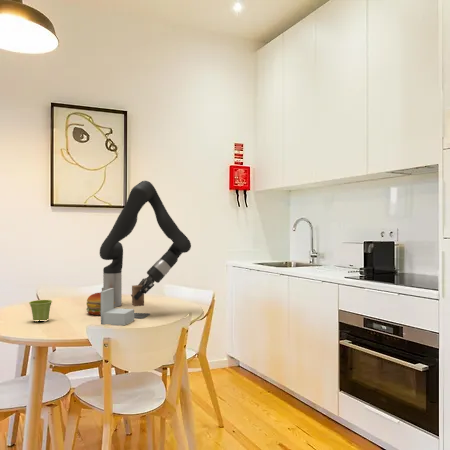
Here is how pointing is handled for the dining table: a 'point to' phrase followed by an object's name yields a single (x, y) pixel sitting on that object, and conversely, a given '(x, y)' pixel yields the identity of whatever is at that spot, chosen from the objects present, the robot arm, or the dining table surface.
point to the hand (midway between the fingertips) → (133, 297)
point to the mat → (141, 315)
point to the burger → (94, 304)
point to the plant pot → (40, 309)
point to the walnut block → (134, 291)
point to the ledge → (114, 310)
